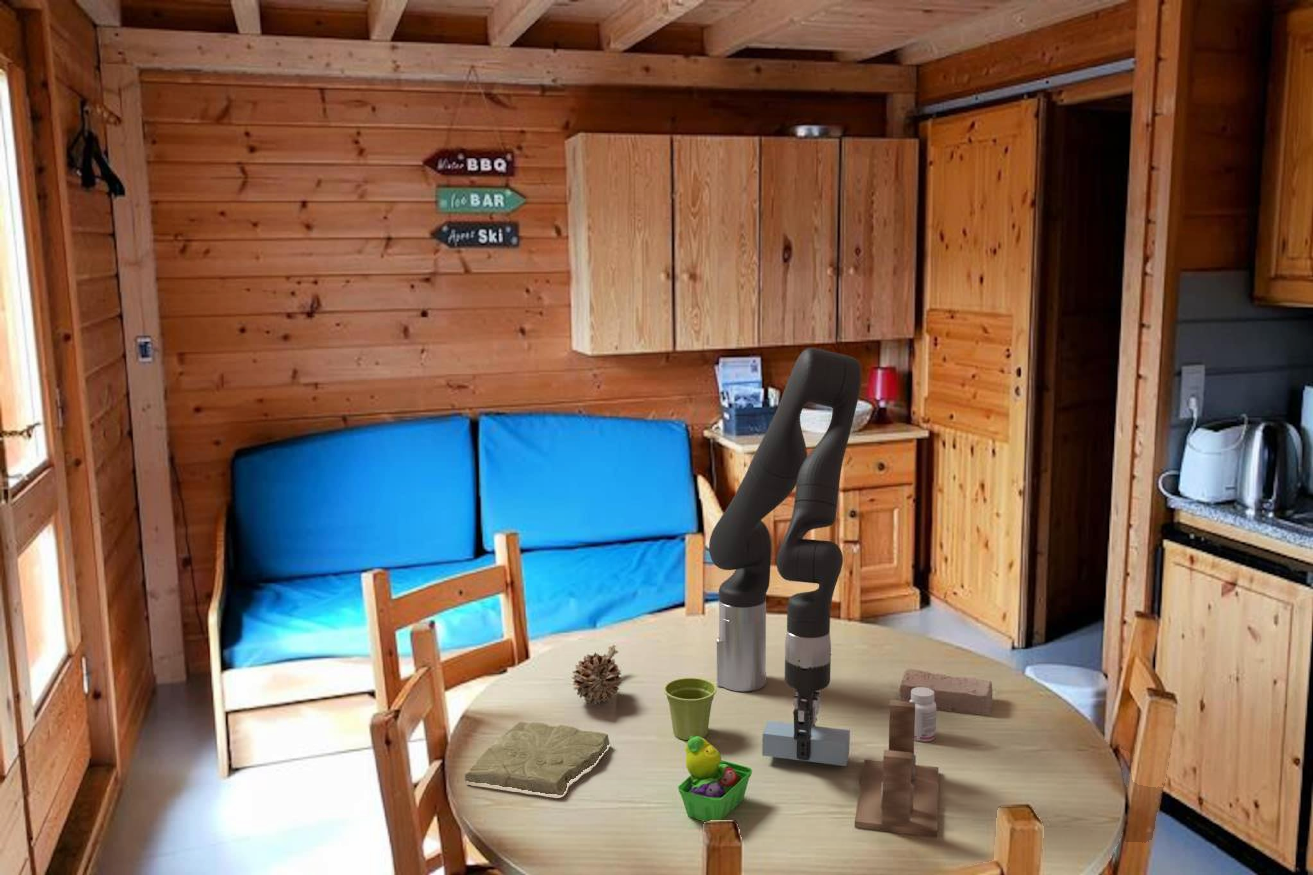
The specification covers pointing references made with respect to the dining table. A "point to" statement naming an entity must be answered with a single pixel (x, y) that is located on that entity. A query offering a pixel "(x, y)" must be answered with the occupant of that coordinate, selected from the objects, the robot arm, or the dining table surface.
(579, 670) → the pine cone
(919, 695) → the pill bottle
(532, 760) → the decorative tile
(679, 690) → the plant pot
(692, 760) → the fruit basket
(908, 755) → the peg stand
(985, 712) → the brick
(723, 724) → the dining table surface
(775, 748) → the block
